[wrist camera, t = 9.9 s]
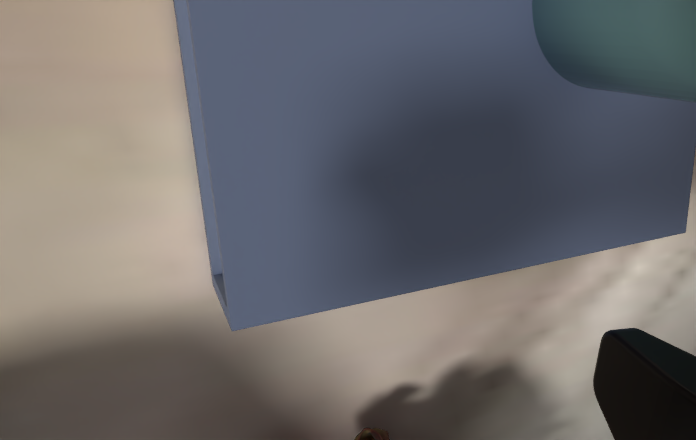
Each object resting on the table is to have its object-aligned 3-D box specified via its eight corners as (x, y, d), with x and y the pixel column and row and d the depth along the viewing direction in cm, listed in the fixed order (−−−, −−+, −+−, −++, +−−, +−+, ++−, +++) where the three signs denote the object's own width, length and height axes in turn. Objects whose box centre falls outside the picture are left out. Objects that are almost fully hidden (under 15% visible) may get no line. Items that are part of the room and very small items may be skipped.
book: (615, 207, 25) (685, 232, 22) (212, 284, 20) (231, 331, 17) (641, -131, 21) (730, -157, 18) (154, -137, 16) (164, -174, 13)
